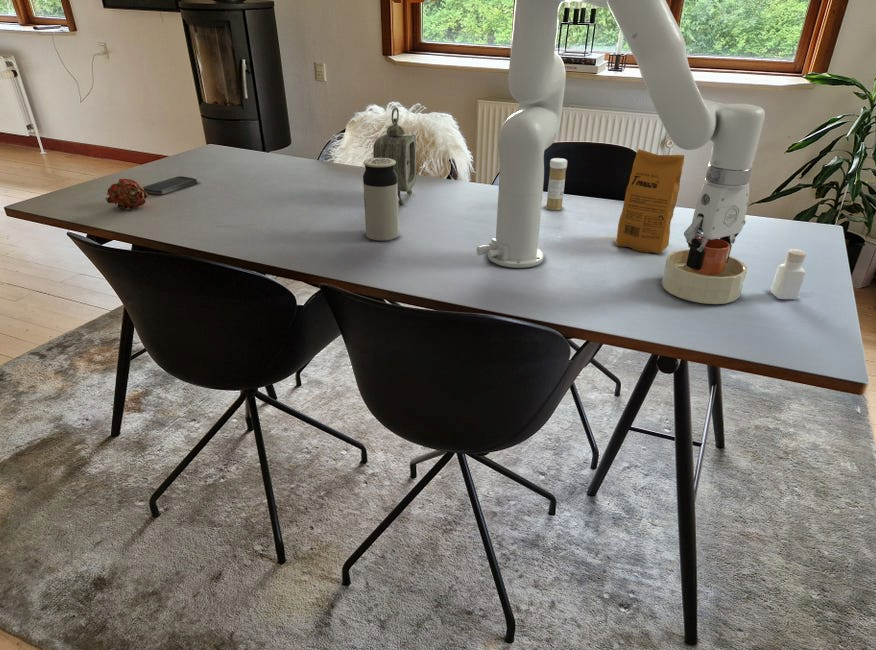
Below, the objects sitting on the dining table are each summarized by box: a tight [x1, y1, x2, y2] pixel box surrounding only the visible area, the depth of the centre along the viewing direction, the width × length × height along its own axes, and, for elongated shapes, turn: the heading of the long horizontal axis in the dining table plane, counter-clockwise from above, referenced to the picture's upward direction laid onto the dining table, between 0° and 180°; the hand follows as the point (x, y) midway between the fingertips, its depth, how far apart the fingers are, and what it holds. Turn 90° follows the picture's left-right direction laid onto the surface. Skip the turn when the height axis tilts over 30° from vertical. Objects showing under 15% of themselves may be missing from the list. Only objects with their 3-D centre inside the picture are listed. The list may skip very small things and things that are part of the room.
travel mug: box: [362, 157, 400, 242], centre depth 149 cm, size 8×8×18 cm
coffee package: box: [615, 148, 685, 254], centre depth 146 cm, size 10×12×22 cm
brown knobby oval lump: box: [105, 178, 149, 211], centre depth 168 cm, size 8×8×12 cm
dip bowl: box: [690, 237, 732, 275], centre depth 125 cm, size 7×7×6 cm
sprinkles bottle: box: [545, 157, 568, 211], centre depth 172 cm, size 5×5×14 cm
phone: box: [141, 175, 198, 196], centre depth 187 cm, size 8×1×15 cm
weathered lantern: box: [372, 106, 417, 207], centre depth 174 cm, size 14×9×25 cm, turn 171°
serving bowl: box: [661, 248, 748, 305], centre depth 128 cm, size 15×15×6 cm
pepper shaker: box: [770, 248, 807, 300], centre depth 125 cm, size 4×4×10 cm
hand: (706, 264), depth 126 cm, fingers closed on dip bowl, 7 cm apart
